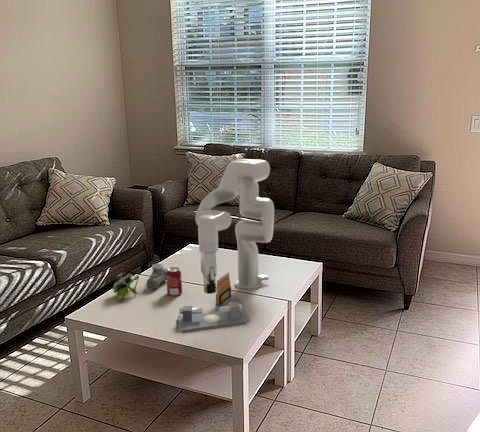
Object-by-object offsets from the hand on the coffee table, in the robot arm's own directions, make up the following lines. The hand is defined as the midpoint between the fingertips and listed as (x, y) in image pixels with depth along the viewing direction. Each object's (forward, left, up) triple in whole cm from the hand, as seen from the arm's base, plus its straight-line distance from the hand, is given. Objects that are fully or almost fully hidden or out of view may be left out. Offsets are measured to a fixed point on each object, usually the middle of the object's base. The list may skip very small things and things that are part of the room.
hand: (209, 289), depth 202 cm
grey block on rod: (+8, -2, -13) cm, 15 cm away
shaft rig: (0, 0, -14) cm, 14 cm away
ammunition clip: (-9, -18, -15) cm, 25 cm away
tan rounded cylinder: (0, 0, -1) cm, 1 cm away
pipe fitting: (+18, -44, -15) cm, 50 cm away
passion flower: (+32, -36, -15) cm, 50 cm away
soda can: (+11, -32, -15) cm, 37 cm away
